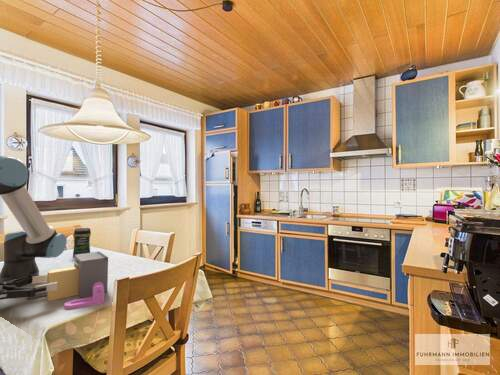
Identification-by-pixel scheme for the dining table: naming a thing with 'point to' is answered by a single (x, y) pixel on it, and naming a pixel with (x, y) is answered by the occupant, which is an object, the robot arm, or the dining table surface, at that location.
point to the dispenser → (91, 272)
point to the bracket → (95, 299)
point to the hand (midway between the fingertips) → (54, 281)
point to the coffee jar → (82, 241)
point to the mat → (38, 295)
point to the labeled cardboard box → (63, 282)
